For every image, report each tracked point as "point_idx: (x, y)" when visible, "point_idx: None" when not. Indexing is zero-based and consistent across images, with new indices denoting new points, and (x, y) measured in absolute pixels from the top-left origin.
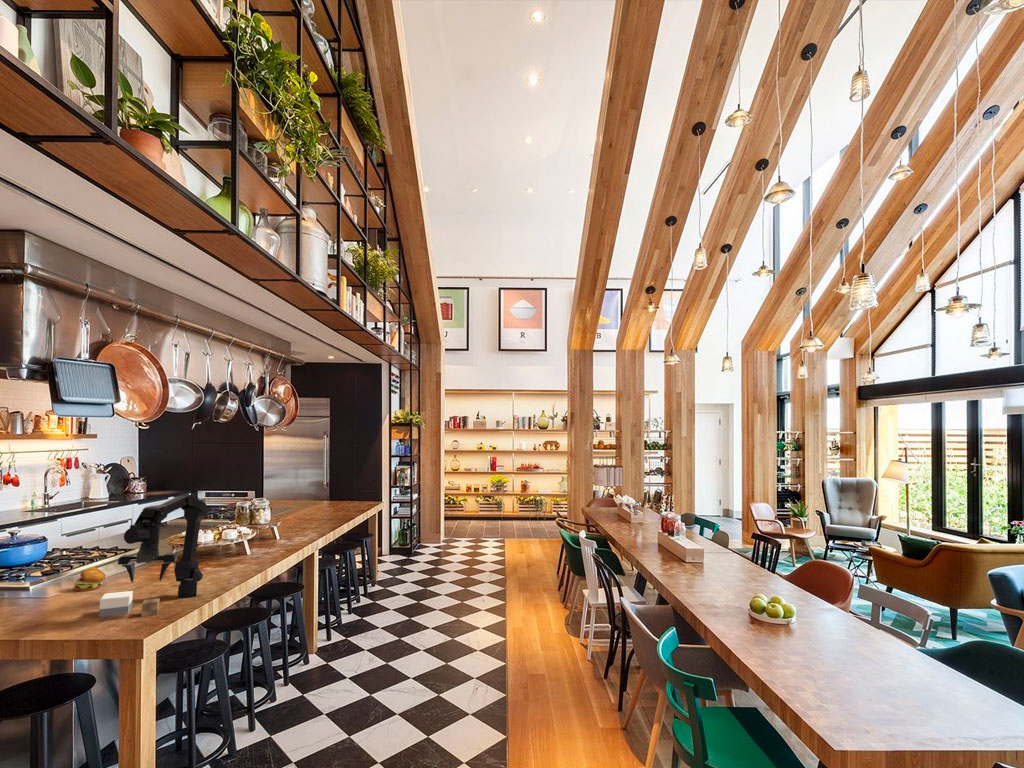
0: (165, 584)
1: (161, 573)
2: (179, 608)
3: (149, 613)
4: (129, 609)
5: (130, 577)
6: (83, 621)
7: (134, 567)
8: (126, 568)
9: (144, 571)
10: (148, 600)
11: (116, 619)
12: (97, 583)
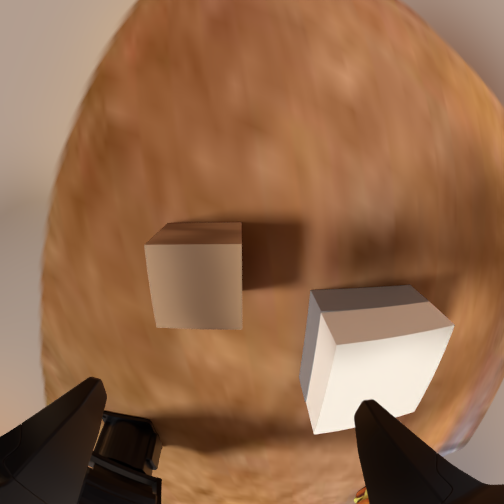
0: (231, 499)
1: (44, 425)
2: (96, 297)
3: (201, 225)
4: (308, 336)
5: (405, 432)
6: (448, 254)
7: None
8: (496, 485)
9: None
10: (213, 305)
11: (352, 226)
12: (367, 495)
